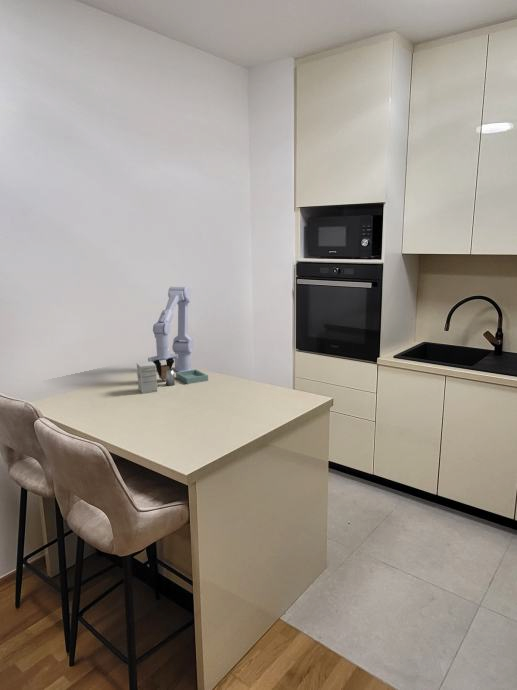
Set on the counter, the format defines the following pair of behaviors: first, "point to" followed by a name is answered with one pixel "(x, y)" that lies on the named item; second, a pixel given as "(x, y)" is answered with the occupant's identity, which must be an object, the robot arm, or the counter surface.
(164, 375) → the walnut block
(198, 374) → the parts tray
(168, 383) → the grey peg
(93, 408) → the counter surface
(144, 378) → the supplement box
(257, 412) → the counter surface
